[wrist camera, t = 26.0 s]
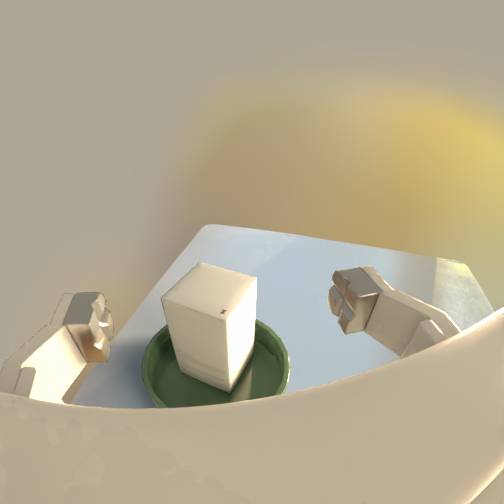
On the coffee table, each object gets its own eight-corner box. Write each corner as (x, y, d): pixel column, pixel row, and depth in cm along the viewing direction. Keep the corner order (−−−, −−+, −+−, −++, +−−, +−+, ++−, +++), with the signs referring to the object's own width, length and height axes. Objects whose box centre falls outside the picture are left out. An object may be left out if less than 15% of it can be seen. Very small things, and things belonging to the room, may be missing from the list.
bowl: (139, 431, 24) (128, 417, 22) (162, 327, 39) (158, 307, 36) (292, 437, 25) (299, 425, 23) (278, 329, 39) (281, 310, 37)
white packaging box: (255, 352, 35) (260, 277, 28) (230, 395, 29) (226, 324, 22) (206, 334, 37) (199, 259, 31) (178, 371, 31) (158, 297, 25)
